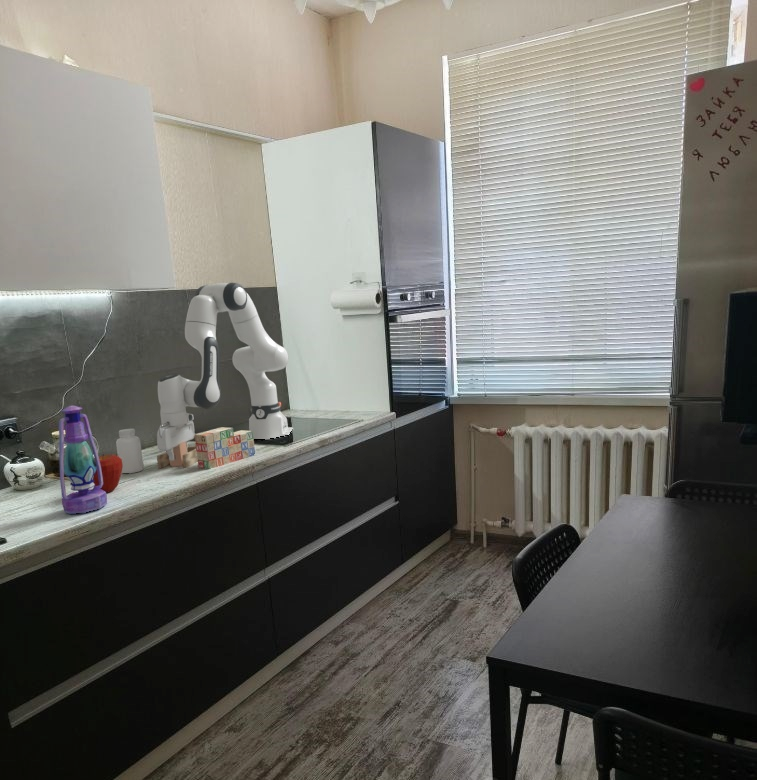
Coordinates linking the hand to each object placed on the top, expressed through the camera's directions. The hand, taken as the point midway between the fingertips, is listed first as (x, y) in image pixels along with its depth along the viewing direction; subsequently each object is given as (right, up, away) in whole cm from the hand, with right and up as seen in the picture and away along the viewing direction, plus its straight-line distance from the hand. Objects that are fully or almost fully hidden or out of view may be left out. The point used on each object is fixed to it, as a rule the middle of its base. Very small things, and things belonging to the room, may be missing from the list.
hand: (178, 457), depth 221 cm
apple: (-13, -8, -29) cm, 33 cm away
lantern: (-11, -10, -47) cm, 49 cm away
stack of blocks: (+18, -2, 0) cm, 18 cm away
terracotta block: (0, -3, 0) cm, 3 cm away
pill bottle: (-15, -5, -5) cm, 16 cm away
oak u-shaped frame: (+1, -2, +2) cm, 3 cm away
